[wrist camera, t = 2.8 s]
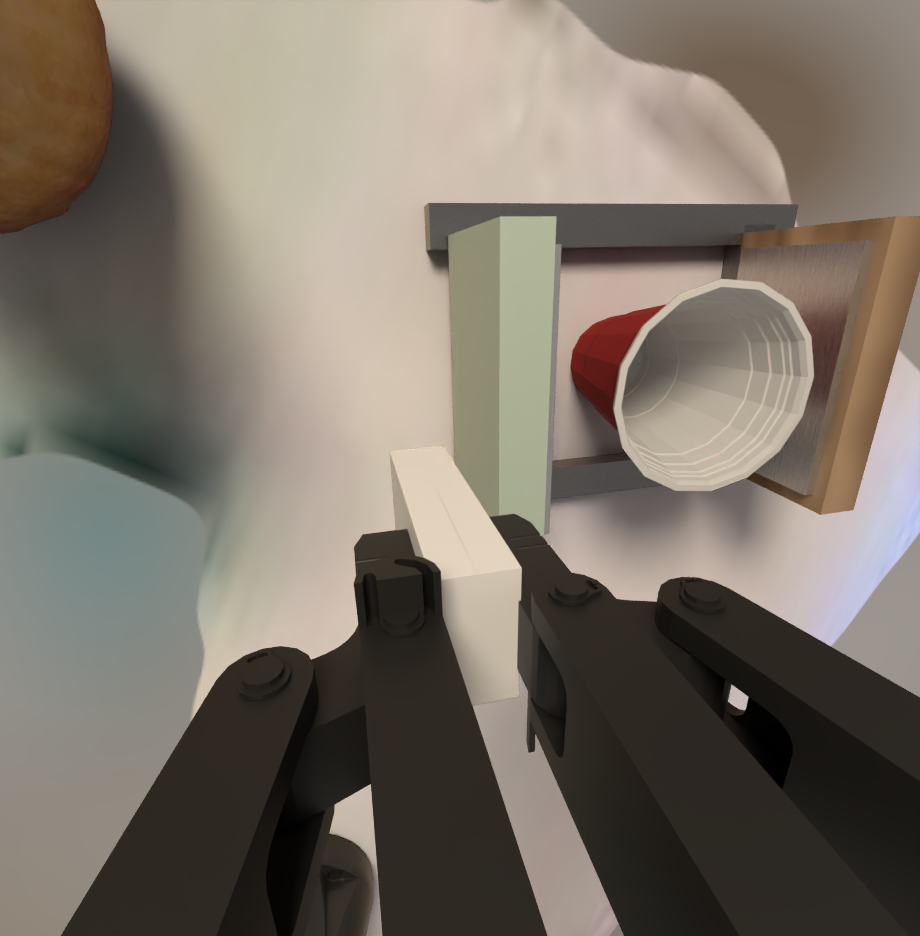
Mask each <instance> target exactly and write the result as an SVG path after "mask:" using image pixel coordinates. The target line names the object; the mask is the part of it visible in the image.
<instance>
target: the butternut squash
mask: <svg viewBox="0 0 920 936" xmlns="http://www.w3.org/2000/svg"><path fill="white" fill-rule="evenodd" d="M112 111H113V91H112V77H111V69H110V63H109V58H108V53H107V48H106V40H105V28H104V24H103V21H102V18H101V15H100V11H99V9H98V7H97V5H96V2H95V0H0V233H1V234H3V233H10V232H16V231H20V230H22V229H24V228H26V227H28V226H30V225H33V224H35V223H39V222H42V221H45V220H48V219H51V218H54V217H57V216H60V215H63V214H64V213H65V212H67V211H68V209H69V206H70V204H71V203H72V202H73V201H74V200H76V199H77V198H78V197H79V196H80V195H81V194H82V193H83V192H84V191H85V190H86V189H87V188H88V187H89V185H90V184H91V183H92V181H93V179H94V177H95V175H96V173H97V171H98V169H99V166H100V164H101V162H102V159H103V156H104V153H105V150H106V146H107V141H108V137H109V132H110V127H111V122H112Z"/></svg>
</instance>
